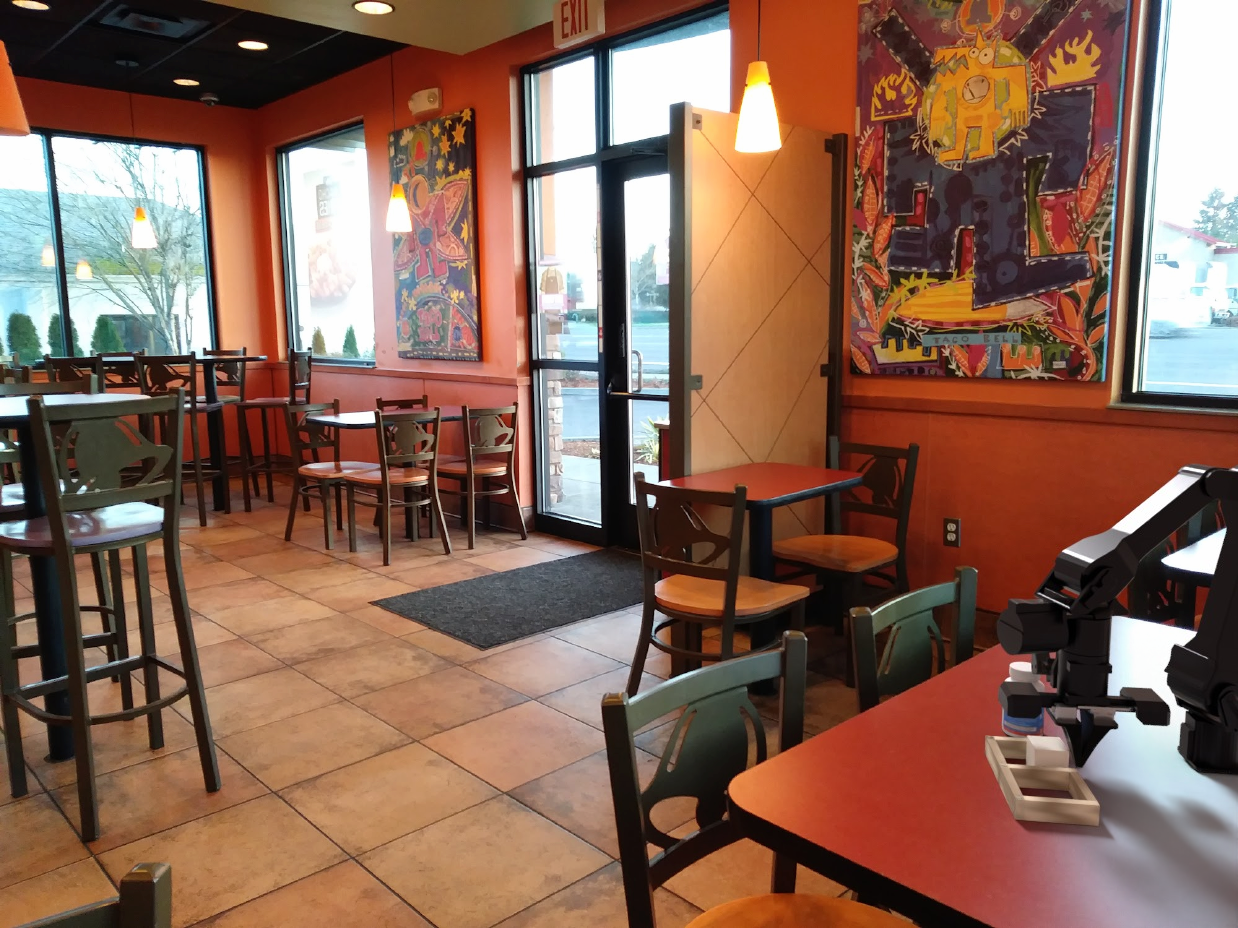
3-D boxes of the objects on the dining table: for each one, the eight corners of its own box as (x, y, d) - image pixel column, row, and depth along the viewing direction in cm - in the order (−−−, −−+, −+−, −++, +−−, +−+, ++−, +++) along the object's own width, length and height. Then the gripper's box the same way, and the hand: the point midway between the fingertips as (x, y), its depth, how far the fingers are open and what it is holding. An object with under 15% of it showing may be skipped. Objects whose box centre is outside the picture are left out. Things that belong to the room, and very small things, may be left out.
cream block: (1058, 766, 117) (1059, 737, 116) (1067, 781, 113) (1069, 751, 112) (1025, 764, 117) (1027, 735, 117) (1033, 778, 113) (1035, 749, 113)
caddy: (1056, 757, 119) (1057, 739, 119) (1098, 825, 102) (1099, 805, 102) (984, 753, 121) (985, 735, 120) (1015, 819, 104) (1015, 799, 104)
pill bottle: (1048, 742, 124) (1051, 674, 122) (1006, 739, 125) (1009, 672, 123) (1037, 725, 129) (1040, 660, 128) (998, 723, 130) (1000, 658, 129)
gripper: (1140, 631, 118) (1134, 743, 120) (991, 625, 122) (987, 734, 124) (1176, 661, 107) (1168, 783, 109) (1010, 654, 111) (1005, 772, 113)
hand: (1077, 766), depth 114 cm, fingers closed
